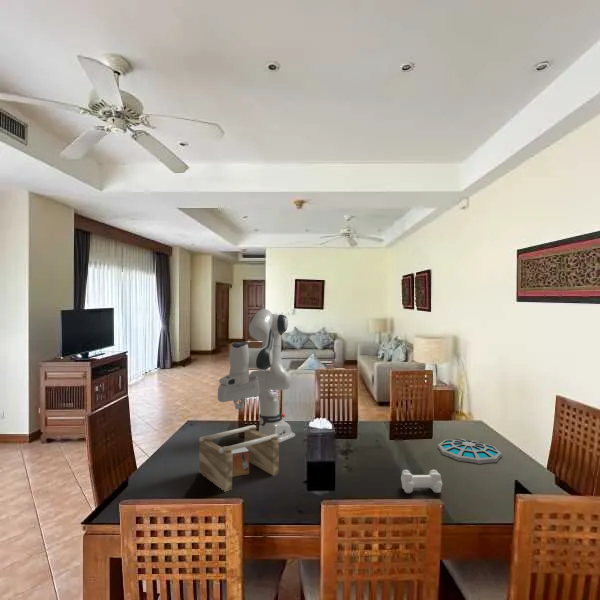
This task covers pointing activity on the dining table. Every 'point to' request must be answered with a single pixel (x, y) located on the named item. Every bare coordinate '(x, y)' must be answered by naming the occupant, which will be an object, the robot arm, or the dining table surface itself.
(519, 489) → the dining table surface
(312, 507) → the dining table surface
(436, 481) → the dog bone
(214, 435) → the pale rod
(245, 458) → the small box
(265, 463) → the rack
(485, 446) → the decorative platform
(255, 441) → the off-white rod
